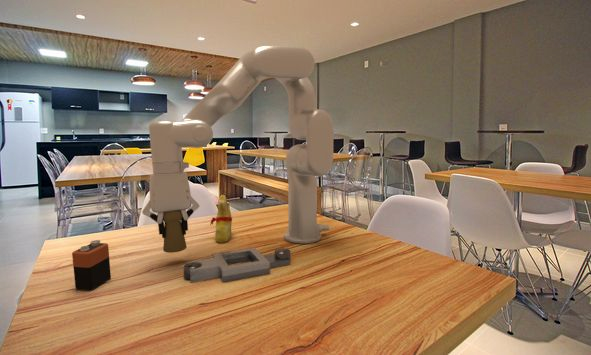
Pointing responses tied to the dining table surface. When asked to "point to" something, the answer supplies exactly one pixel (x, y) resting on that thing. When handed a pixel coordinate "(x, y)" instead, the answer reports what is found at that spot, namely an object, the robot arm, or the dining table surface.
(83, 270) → the battery
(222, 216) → the chocolate bunny
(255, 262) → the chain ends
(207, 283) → the dining table surface
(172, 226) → the cork
